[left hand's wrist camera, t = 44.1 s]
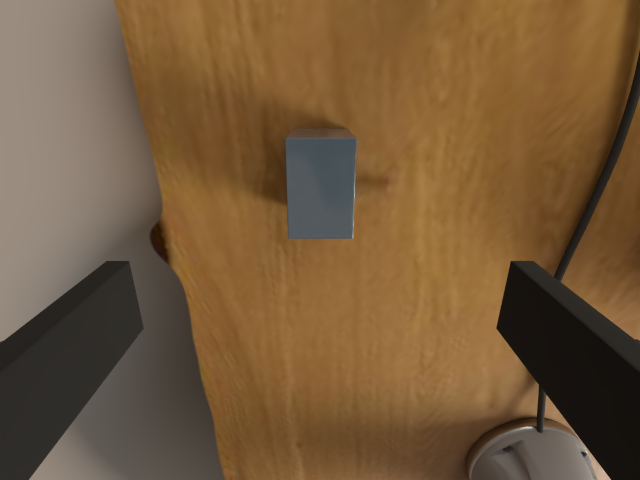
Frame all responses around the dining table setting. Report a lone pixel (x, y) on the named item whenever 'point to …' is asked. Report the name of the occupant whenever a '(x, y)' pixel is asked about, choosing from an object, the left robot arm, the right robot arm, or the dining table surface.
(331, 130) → the brick
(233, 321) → the dining table surface
